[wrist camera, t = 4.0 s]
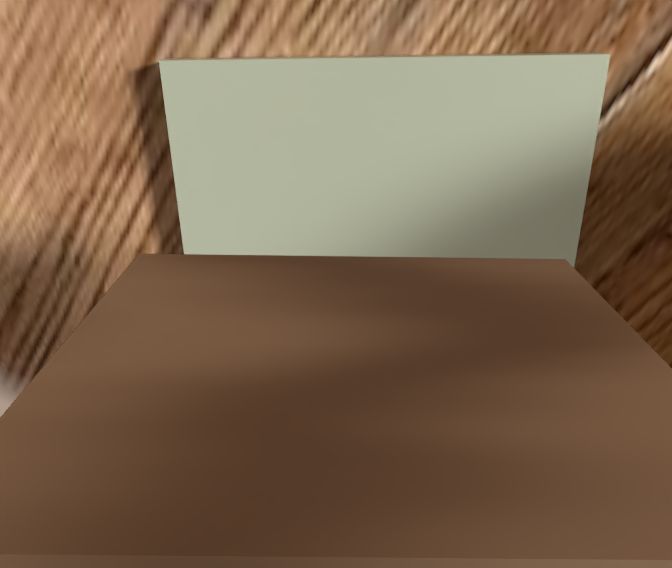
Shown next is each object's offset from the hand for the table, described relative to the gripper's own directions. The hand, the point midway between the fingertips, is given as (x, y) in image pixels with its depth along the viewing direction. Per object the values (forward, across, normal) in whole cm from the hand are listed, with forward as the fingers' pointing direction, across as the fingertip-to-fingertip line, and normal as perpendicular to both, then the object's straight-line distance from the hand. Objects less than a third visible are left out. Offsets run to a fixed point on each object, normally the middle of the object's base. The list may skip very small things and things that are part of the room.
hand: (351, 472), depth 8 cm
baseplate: (+11, -1, +1) cm, 11 cm away
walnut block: (+1, 0, 0) cm, 1 cm away
